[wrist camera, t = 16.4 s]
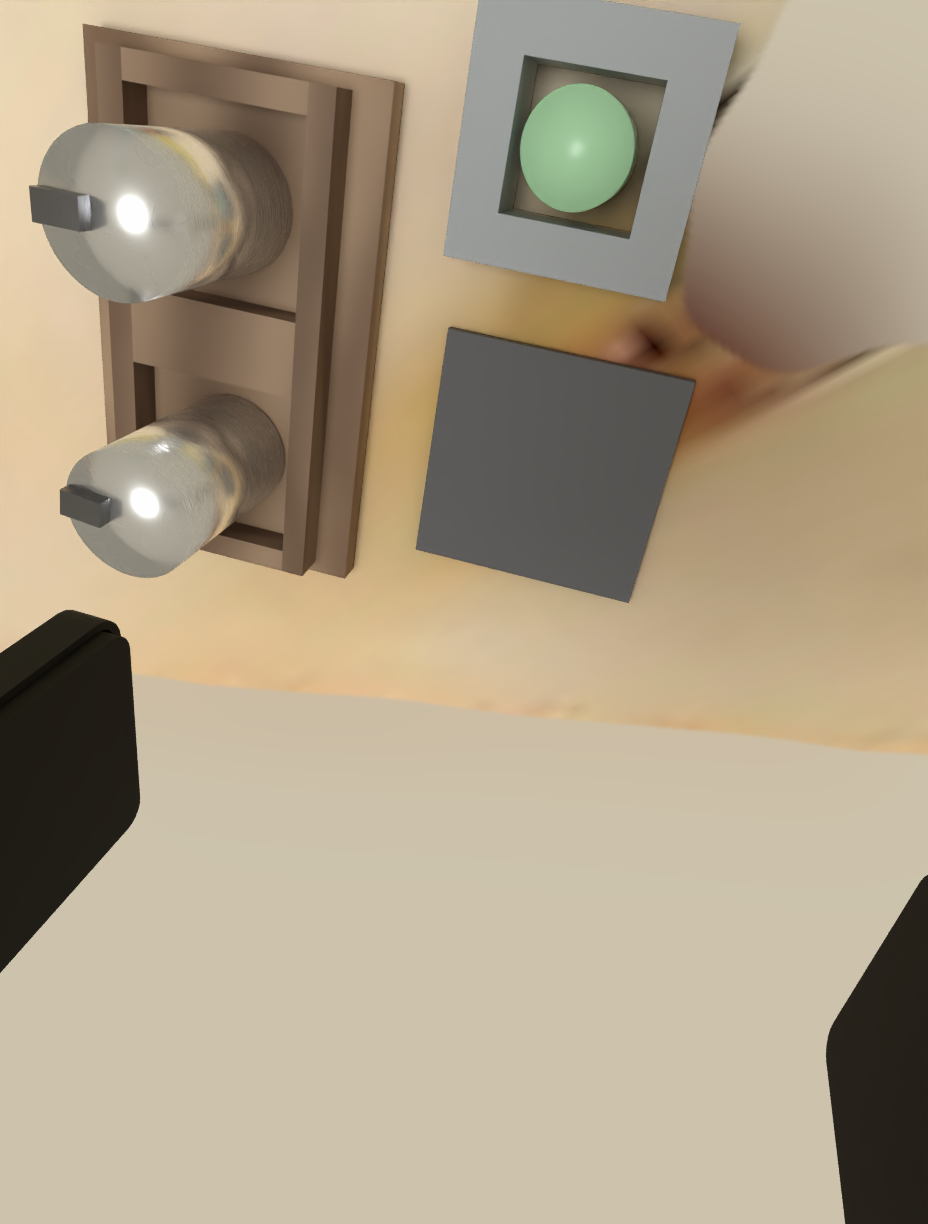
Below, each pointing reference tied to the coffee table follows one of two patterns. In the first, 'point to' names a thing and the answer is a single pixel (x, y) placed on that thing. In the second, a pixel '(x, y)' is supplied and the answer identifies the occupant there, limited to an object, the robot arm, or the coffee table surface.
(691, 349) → the coffee table surface
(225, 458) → the silver rounded cylinder
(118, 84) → the brown cruet tray
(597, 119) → the button
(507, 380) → the mat
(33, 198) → the cylinder
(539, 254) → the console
